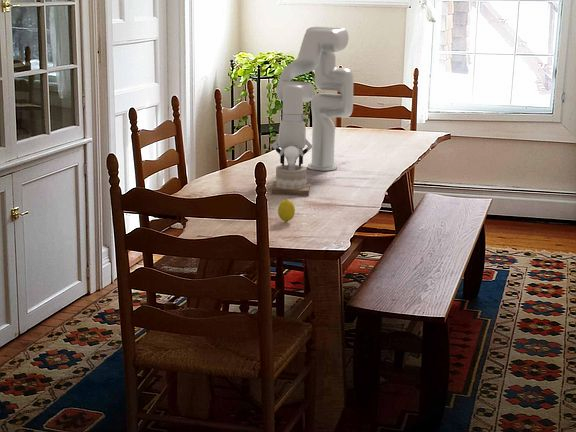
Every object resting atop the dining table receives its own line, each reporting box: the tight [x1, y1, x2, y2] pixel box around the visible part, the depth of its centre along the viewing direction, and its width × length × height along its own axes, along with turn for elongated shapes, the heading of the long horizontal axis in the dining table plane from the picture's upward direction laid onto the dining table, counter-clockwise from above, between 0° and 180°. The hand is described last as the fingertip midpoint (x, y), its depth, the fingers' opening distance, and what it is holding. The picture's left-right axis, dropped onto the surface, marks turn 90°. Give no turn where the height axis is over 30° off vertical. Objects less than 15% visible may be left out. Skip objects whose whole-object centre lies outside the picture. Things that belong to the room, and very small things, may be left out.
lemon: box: [277, 198, 296, 223], centre depth 307 cm, size 6×6×8 cm
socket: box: [270, 164, 311, 197], centre depth 350 cm, size 14×14×9 cm
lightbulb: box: [283, 146, 300, 170], centre depth 348 cm, size 6×6×11 cm
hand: (291, 165), depth 349 cm, fingers closed on lightbulb, 5 cm apart
